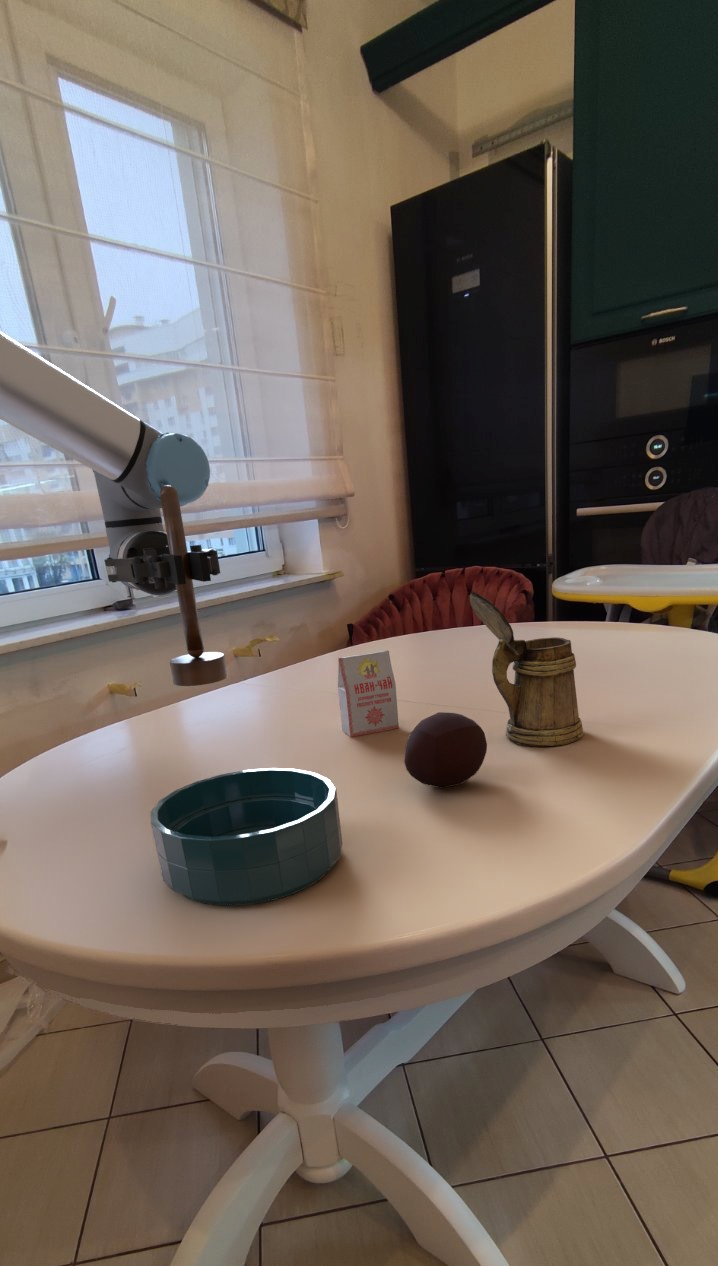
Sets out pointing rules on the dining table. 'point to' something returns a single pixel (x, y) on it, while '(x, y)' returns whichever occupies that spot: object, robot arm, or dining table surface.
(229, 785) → the bowl
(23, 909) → the dining table surface
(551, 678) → the wooden mug
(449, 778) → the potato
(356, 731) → the tea bag
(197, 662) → the brown stick with disc
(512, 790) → the dining table surface
